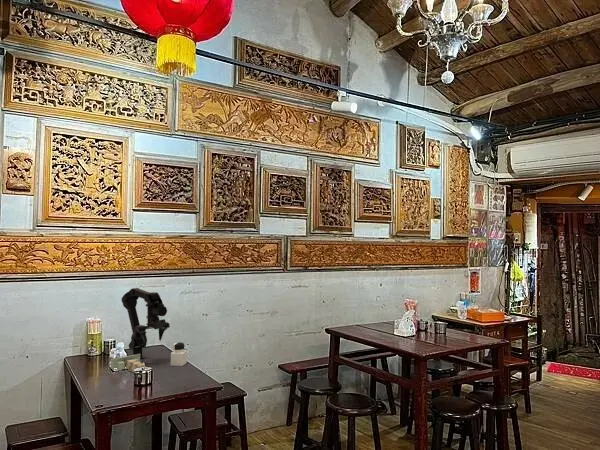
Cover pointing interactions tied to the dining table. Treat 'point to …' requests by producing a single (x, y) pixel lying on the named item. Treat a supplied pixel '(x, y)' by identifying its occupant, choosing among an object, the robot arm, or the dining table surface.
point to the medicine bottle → (178, 355)
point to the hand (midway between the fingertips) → (152, 341)
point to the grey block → (120, 362)
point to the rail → (132, 364)
